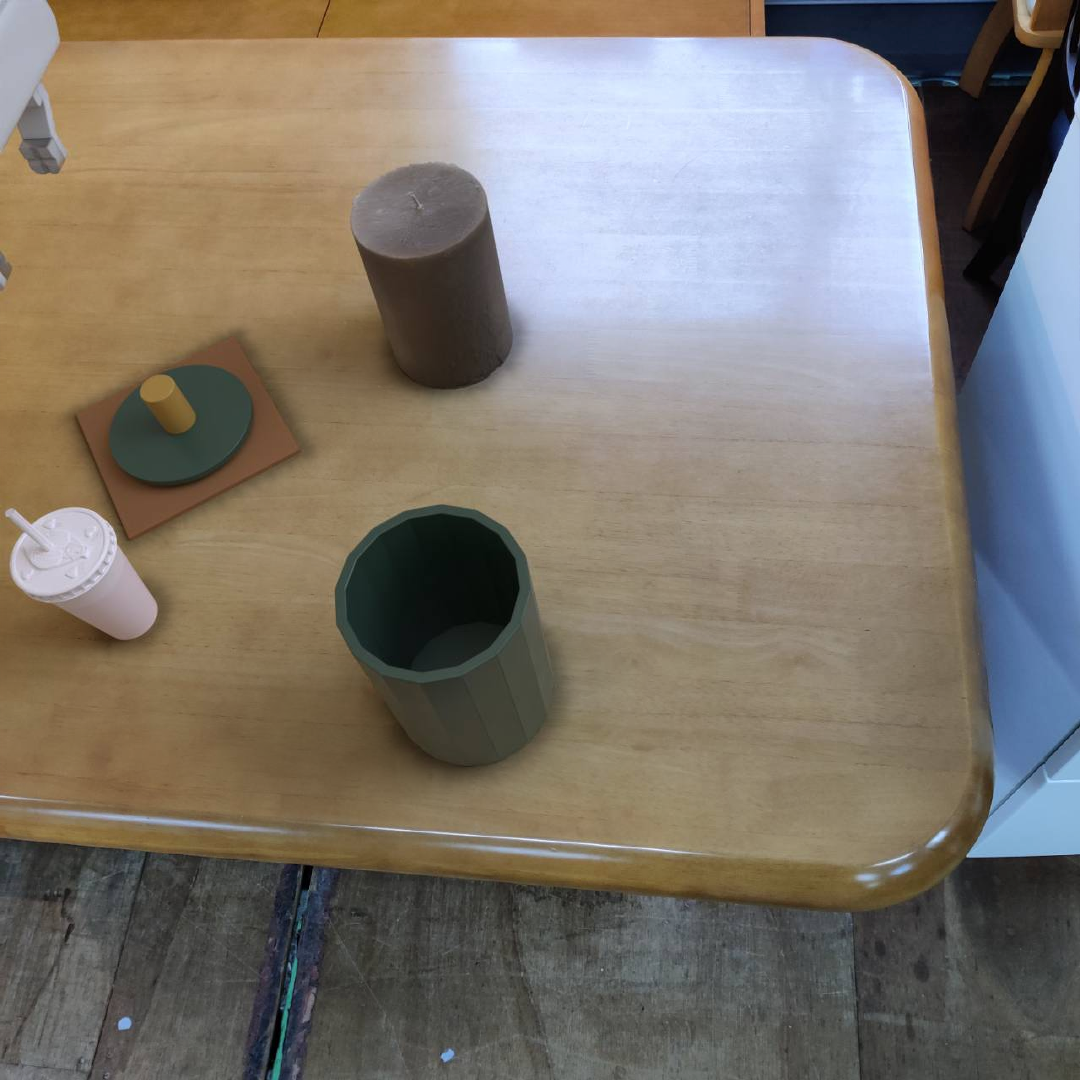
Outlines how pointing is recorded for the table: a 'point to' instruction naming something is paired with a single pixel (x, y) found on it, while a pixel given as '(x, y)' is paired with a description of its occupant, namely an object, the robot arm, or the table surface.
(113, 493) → the cork mat
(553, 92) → the table surface
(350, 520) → the table surface
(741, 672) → the table surface
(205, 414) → the tin lid
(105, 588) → the smoothie
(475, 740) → the tin
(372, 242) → the pillar candle
